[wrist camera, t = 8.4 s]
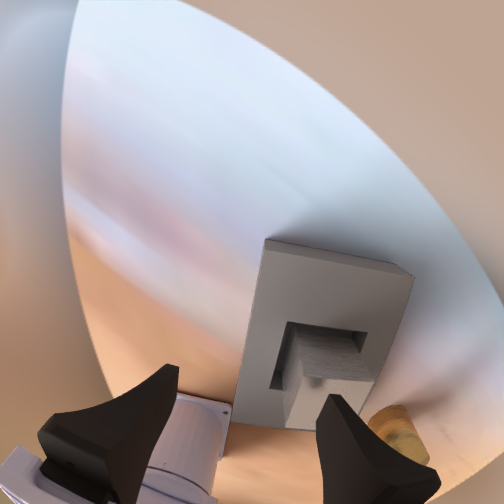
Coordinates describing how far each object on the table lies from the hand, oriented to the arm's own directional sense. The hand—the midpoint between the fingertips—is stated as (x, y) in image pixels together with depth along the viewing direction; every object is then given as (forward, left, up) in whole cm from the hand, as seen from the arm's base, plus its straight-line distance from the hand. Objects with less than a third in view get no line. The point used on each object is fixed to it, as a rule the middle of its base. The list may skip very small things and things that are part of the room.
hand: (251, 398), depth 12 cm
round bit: (-10, -15, -9) cm, 21 cm away
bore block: (-1, -4, -9) cm, 10 cm away
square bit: (-1, -4, -8) cm, 10 cm away
